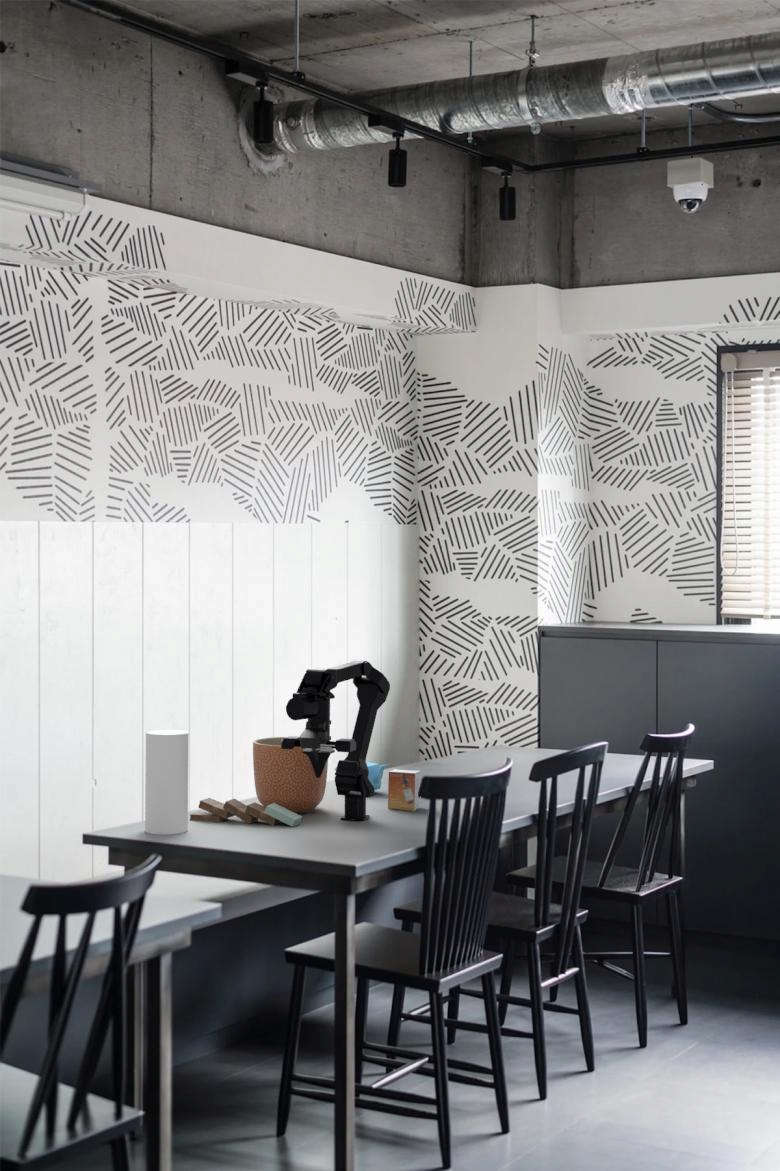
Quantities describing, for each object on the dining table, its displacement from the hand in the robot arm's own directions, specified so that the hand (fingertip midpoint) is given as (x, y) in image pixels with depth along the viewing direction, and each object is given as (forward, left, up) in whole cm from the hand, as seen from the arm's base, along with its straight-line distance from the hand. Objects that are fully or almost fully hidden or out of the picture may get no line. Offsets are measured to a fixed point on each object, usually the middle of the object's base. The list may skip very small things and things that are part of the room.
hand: (318, 777), depth 368 cm
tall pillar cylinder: (+16, -35, -13) cm, 41 cm away
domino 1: (-3, -25, -11) cm, 28 cm away
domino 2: (-2, -27, -13) cm, 30 cm away
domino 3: (-2, -18, -12) cm, 22 cm away
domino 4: (-2, -12, -12) cm, 17 cm away
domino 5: (-2, -6, -12) cm, 14 cm away
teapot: (-58, -6, -13) cm, 60 cm away
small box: (-36, +13, -13) cm, 41 cm away
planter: (-23, -16, -13) cm, 31 cm away
